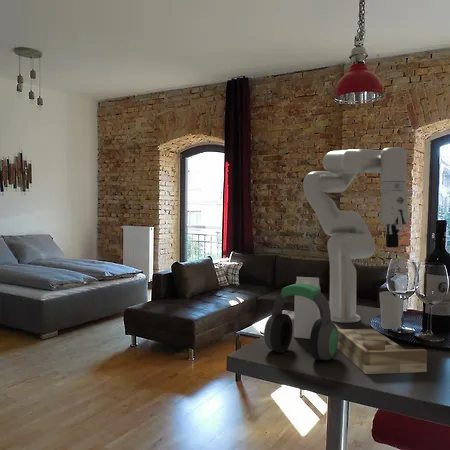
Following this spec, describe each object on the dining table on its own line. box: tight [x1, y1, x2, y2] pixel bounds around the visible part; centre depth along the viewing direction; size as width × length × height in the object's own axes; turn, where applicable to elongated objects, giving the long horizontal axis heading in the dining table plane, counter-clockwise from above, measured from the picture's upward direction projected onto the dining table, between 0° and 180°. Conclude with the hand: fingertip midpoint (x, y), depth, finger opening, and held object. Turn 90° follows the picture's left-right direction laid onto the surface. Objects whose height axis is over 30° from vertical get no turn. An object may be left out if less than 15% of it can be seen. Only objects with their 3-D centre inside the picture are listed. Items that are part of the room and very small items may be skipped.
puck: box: [363, 341, 385, 351], centre depth 118 cm, size 6×6×4 cm
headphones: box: [263, 283, 338, 361], centre depth 127 cm, size 19×11×20 cm, turn 58°
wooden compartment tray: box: [336, 325, 428, 375], centre depth 130 cm, size 32×16×6 cm, turn 5°
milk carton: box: [293, 276, 321, 340], centre depth 146 cm, size 7×7×19 cm
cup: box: [378, 290, 405, 330], centre depth 155 cm, size 8×8×12 cm
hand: (391, 247), depth 141 cm, fingers closed
